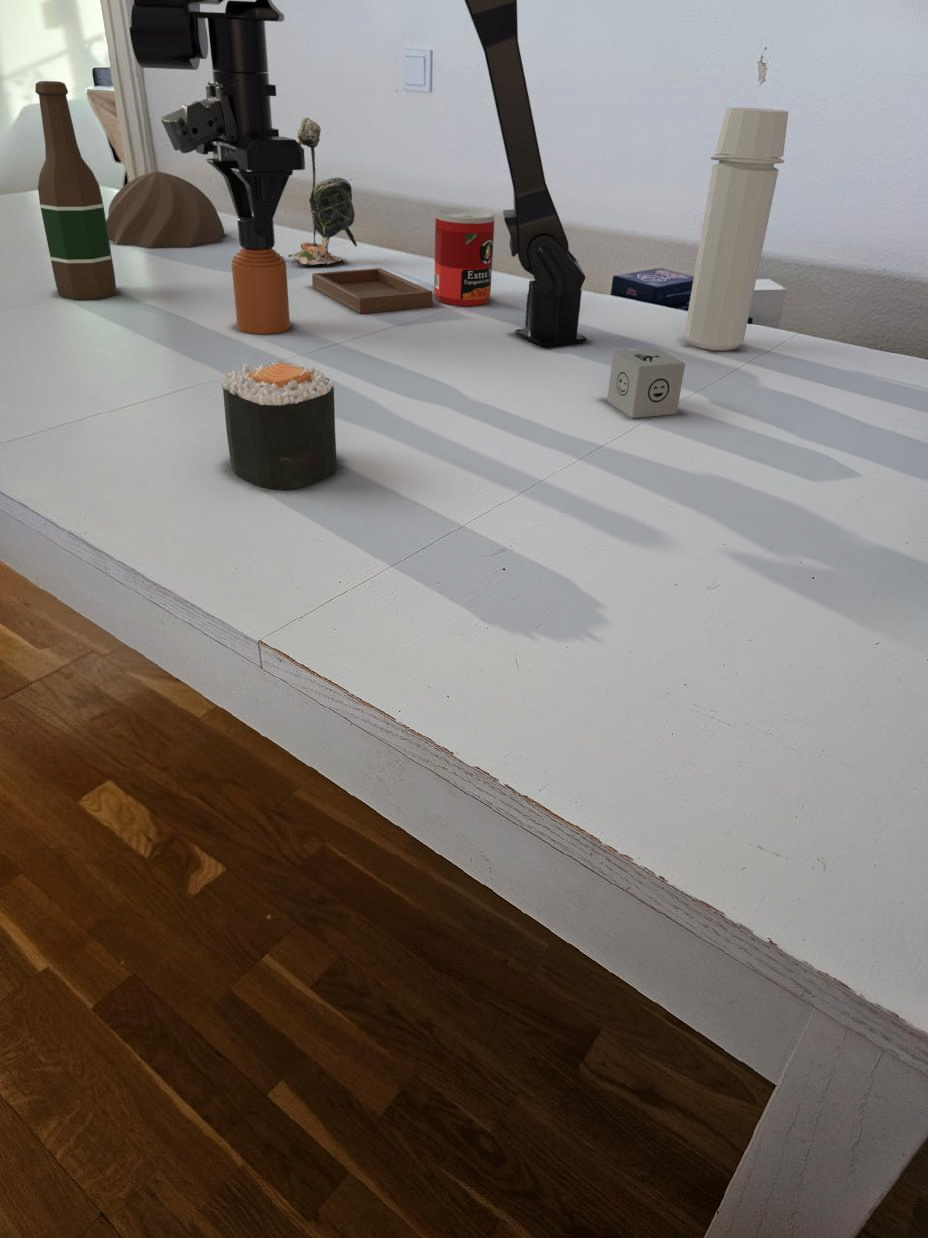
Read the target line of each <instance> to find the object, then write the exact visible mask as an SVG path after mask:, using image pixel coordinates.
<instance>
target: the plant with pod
mask: <svg viewBox="0 0 928 1238" xmlns="http://www.w3.org/2000/svg"><path fill="white" fill-rule="evenodd" d="M321 129H322V128H321V126H320V125H319V124H318V123H317V122H315V121H314V120H312V119H310V117H304V118H302V119H301V123H300V126H299V129H298V130H297V139H298V141H297V142H298V143H299V144H300V146H302V145H303V146H306V147H308V148H310V151H311V152H310V155H311V162H312V164H311V166H312V167H311V168H312V189H311V190H310V193H309V195H310V196H309V199H308V201H309V204H310V205H309V207H310V212H311V218H312V227H313V242H307V241H302V242H301V243H300V249H301V250H300V251H298V252H296V253H294V254H288V258H292V260H293V261H294V262H295V264H298V265H308V266H309V265H310V266H314V265H320V264H323V265H325V264H326V265H330V264H335V263H338V262H345V261H346V259H342V258H338V257H337V256H335V255H333V254H332V253H331V252H329V243H330V239H331V238H333V237H335V236H336V235H337V234H339V233H340V232H342V231H345V233H346V235H347V236H348V238H349V240H350V241H351V243H352V244H353V245H354V247H358V244H357V241H356V239H355V237H354V235H353V233H352V231H351V230H350V227H351V226H352V225H353V224H354V222H355V216H356V213H355V208H354V205H353V190H352V186H351V184H350V182H349V181H352V180H353V179H352V178H351V179H349V181H348V179H346V178H342V177H339V176H334V177H331V178H327V179H325V180H321V181H320V182H319V183H316V177H317V175H316V162H315V161H316V151H315V149H316V147H317V146H319V143H320V138H321V137H320V136H321V131H322V130H321ZM303 146H302V147H303ZM316 232H317V233H319V235H320V237H321V238H322V239H321V244H319V243H316Z"/></svg>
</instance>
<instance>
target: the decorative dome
mask: <svg viewBox="0 0 928 1238" xmlns="http://www.w3.org/2000/svg"><path fill="white" fill-rule="evenodd" d="M107 211H108V212H107V213H108V216H107V217H106V224H107V230H108V236H109V241H114V243H115V245H123V246H124V245H125V246H137V247H143V248H148V249H153V248H154V249H156V248H170V247H172V248H173V247H174V248H192V247H195V246H199V245H203V244H214V243H219V242H220V239H221V238H223V237H226V232H225V228H224V225H223V223H222V220H221V218H220V216H219V213H218V211H217V209H216V207H215V205H214V203H213V202H212V201H211V200H210V198H209V197H208V196H207V195H206V194H205V193H204V192H203V191H202V190H201V189H200V188H198V187H197V186H196V185H194V184H193V183H191V182H189V181H187V180H185V179H184V178H182V177H179V176H176V175H173V174H170V173H167V172H163V171H158V170H157V171H151V172H148V173H145V174H141V176H140V175H139V176H138V177H136V178H133V179H131V180H130V181H128V182H127V183H126V184H125V185H124V186H122V187H121V188H120V189H119V190H118V191H117V193H116V194H115V195H114V196H113V198H112V199H111V201H110V204H109V206H108V210H107Z"/></svg>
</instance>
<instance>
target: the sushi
mask: <svg viewBox="0 0 928 1238" xmlns="http://www.w3.org/2000/svg"><path fill="white" fill-rule="evenodd" d="M258 366H259V367H257V366H252V367H251V365H250V364H247V363H244V364H243V365H242V369H239V370H237V371H236V370H232V372H228V374H224V375H223V378H222V380H220V381H219V384H220V386H221V387H222V395H223V406H224V407H223V408H224V416H225V417H224V418H225V419H224V420H225V429H226V436H227V437H226V438H227V446H228V453H229V460H230V467H231V468H230V469H231V471H232V472H233V473H234V474H235V475H236V476H238V477H240V478H242V479H244V480H246V481H248V482H250V483H252V484H254V485H256V486H258V487H261V488H266V489H270V490H292V489H300V488H303V487H306V486H309V485H312V484H314V483H317V482H319V481H322V480H325V479H326V478H329V477H330V476H332V475H334V474H335V473H336V471H337V469H338V462H337V461H338V459H337V441H336V414H335V413H336V412H335V410H336V409H335V381H332V380H330V379H329V378H328V377H326V376H325V373H324V372H322V371H321V370H320V369H317V370H316V368H315V366H311V367H310V368H309V369H308V368H305V367H304V364H295V363H293V365H292V364H291V365H290V364H287V363H285V362H279V361H276V362H271V363H267V365H266V364H265V363H261V364H259V365H258Z"/></svg>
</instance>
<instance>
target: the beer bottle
mask: <svg viewBox="0 0 928 1238" xmlns="http://www.w3.org/2000/svg"><path fill="white" fill-rule="evenodd" d="M34 92H35V93H36V94H37V95H38V101H39V108H40V114H41V115H40V116H41V122H42V128H43V138H44V151H45V159H44V162H43V165H42V166H41V169H40V172H39V176H38V184H37V193H38V200H39V207H40V212H41V218H42V221H43V226H44V234H45V237H46V242H47V243H46V244H47V247H48V253H49V258H50V262H51V267H52V272H53V278H54V282H55V286H56V290H57V293H58V296H59V297H61V298H66V299H70V300H76V301H77V300H99V299H104V298H108V297H113V296H115V295H116V290H117V284H116V275H115V269H114V262H113V261H114V260H113V255H112V248H111V242H110V239H109V236H108V230H107V224H106V220H107V217H106V212H105V207H104V206H105V205H104V200H103V196H102V192H101V191H102V190H101V188H100V184H99V182H98V180H97V178H96V176H95V173H94V172H93V170H92V168H91V167H89V165H88V164H87V162H86V161H85V160H84V159H83V157H82V154H81V151H80V148H79V145H78V142H77V137H76V133H75V128H74V124H73V119H72V115H71V111H70V106H69V102H68V96H67V95H68V94H69V90H68V87H67V85H66V83H65V82H62V81H55V80H54V81H53V80H39V81H37V82H36V83H35V89H34Z"/></svg>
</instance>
